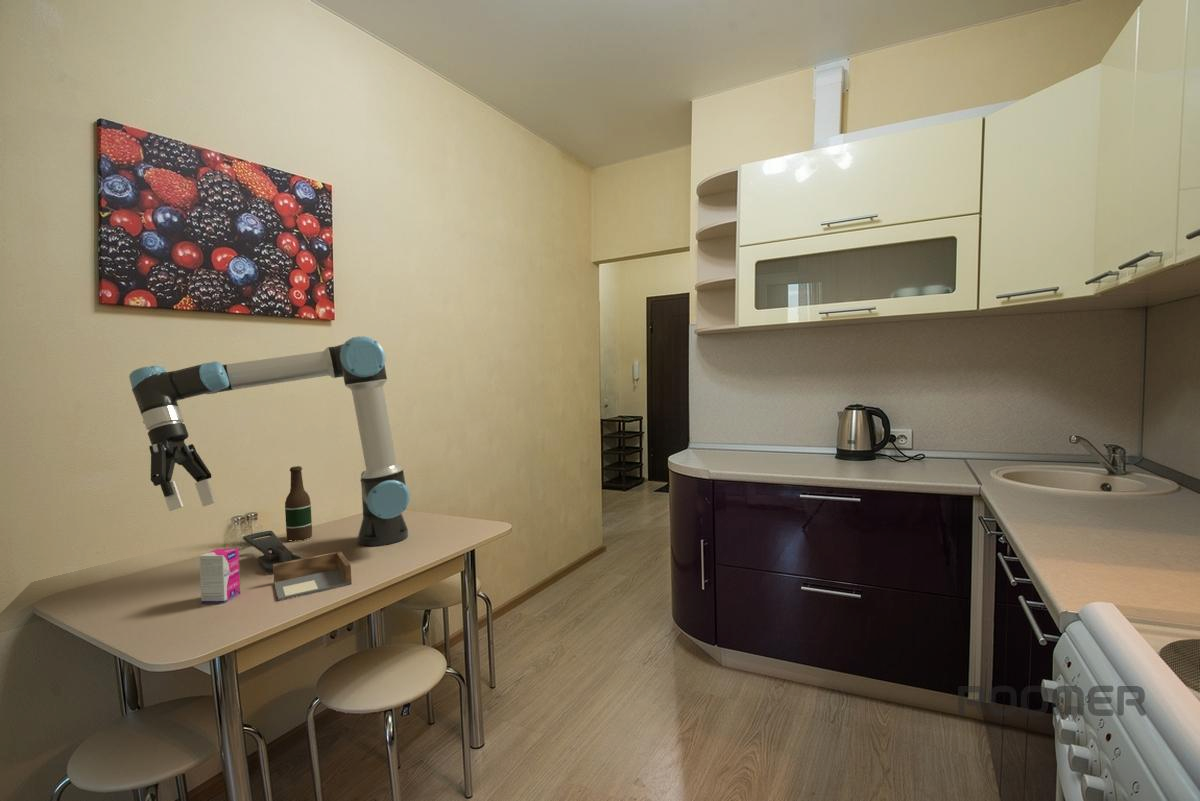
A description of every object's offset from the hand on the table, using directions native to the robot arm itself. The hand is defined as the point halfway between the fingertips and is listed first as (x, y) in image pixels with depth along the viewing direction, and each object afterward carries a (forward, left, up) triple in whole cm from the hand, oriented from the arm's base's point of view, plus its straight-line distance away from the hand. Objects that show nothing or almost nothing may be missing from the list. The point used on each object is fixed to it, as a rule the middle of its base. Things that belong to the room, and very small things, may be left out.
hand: (193, 506), depth 133 cm
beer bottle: (-26, -36, -22) cm, 49 cm away
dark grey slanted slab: (-17, -14, -22) cm, 31 cm away
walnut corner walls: (-24, +13, -22) cm, 34 cm away
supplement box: (-5, +9, -22) cm, 24 cm away
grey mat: (-24, +13, -22) cm, 34 cm away
